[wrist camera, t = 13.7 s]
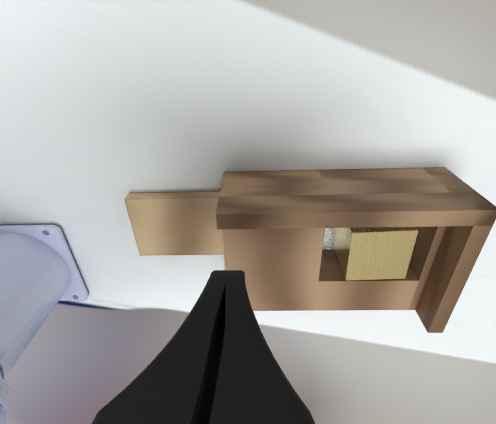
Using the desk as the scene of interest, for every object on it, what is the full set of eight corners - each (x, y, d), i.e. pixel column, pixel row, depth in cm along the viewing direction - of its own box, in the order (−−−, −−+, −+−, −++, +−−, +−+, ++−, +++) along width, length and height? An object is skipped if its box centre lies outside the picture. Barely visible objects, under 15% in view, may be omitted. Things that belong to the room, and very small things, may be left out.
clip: (345, 280, 21) (405, 278, 21) (351, 233, 19) (418, 230, 19) (332, 244, 25) (384, 242, 24) (337, 201, 22) (393, 198, 22)
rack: (152, 279, 27) (130, 333, 22) (124, 174, 22) (88, 216, 17) (408, 276, 26) (442, 332, 21) (445, 167, 21) (499, 209, 16)
